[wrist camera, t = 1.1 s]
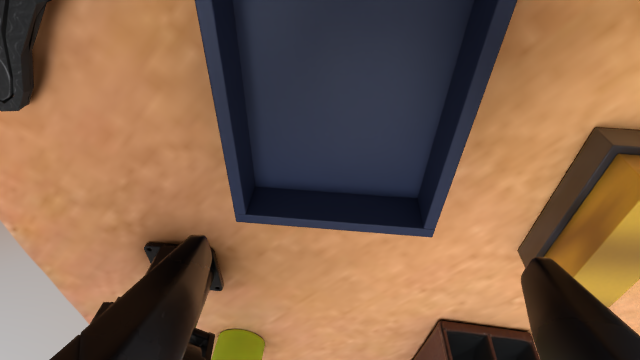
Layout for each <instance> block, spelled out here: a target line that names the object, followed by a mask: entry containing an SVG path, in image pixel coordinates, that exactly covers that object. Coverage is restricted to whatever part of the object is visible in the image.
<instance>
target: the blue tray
mask: <svg viewBox="0 0 640 360" xmlns="http://www.w3.org/2000/svg"><path fill="white" fill-rule="evenodd" d="M516 3H517V0H195V4H196V9H197V15H198V20H199V25H200V31H201V36H202V41H203V47H204V52H205V57H206V63H207V68H208V73H209V79H210V84H211V89H212V95H213V100H214V105H215V111H216V116H217V121H218V127H219V132H220V137H221V143H222V148H223V153H224V159H225V164H226V169H227V175H228V180H229V185H230V191H231V196H232V201H233V207H234V212H235V218H236V222H246V223H259V224H271V225H284V226H297V227H309V228H322V229H334V230H347V231H359V232H372V233H384V234H397V235H410V236H422V237H432V236H433V234H434V231H435V228H436V225H437V222H438V219H439V217H440V214H441V211H442V208H443V205H444V203H445V200H446V197H447V194H448V192H449V189H450V186H451V183H452V180H453V178H454V175H455V172H456V169H457V167H458V164H459V161H460V158H461V155H462V153H463V150H464V147H465V144H466V142H467V139H468V136H469V133H470V130H471V128H472V125H473V122H474V119H475V117H476V114H477V111H478V108H479V105H480V103H481V100H482V97H483V94H484V92H485V89H486V86H487V83H488V80H489V78H490V75H491V72H492V69H493V67H494V64H495V61H496V58H497V55H498V53H499V50H500V47H501V44H502V42H503V39H504V36H505V33H506V30H507V28H508V25H509V22H510V19H511V17H512V14H513V11H514V8H515V6H516Z"/></svg>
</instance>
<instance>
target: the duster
mask: <svg viewBox="0 0 640 360" xmlns="http://www.w3.org/2000/svg"><path fill="white" fill-rule="evenodd" d="M518 253H519V255H520V257H521V259H522V262H523V264H524V266H525V268H526V267H527V265H528V264H529V262H530V261H531V259H532V258H534V257H546V258H551V259H552V260H554V261H555V262H556V263H557V264H559V265H560V266H561V267H562V268H563V269H564V270H565V271H566V272H568V273H569V274H570V275H571V276H572V277H573V278H574V279H576V280H577V281H578V282H579V283H580V284H581V285H582V286H584V287H585V288H586V289H587V290H588V291H589V292H590V293H591V294H593V295H594V296H595V297H596V298H597V299H598V300H599V301H601V302H602V303H603V304H604V305H605V306H606V307H610V306H611V305H612V304H613V303H614V302H615V301H617V300H618V299H619V298H620V297H621V296H622V295H623V294H624V293H625V292H626V291H627V290H628V289H629V288H631V287H632V286H633V285H634V284H635V283H636V282H637V281H638V280H639V279H640V130H626V129H611V128H595V129H594V130H593V132H592V133H591V135H590V136H589V138H588V140H587V141H586V143H585V144H584V146H583V148H582V149H581V151H580V152H579V154H578V156H577V157H576V159H575V160H574V162H573V164H572V165H571V167H570V168H569V170H568V172H567V173H566V175H565V176H564V178H563V179H562V181H561V183H560V184H559V186H558V187H557V189H556V191H555V192H554V194H553V195H552V197H551V199H550V200H549V202H548V203H547V205H546V207H545V208H544V210H543V211H542V213H541V215H540V216H539V218H538V219H537V221H536V222H535V224H534V226H533V227H532V229H531V230H530V232H529V234H528V235H527V237H526V238H525V240H524V242H523V243H522V245H521V246H520V248H519V250H518Z"/></svg>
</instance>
